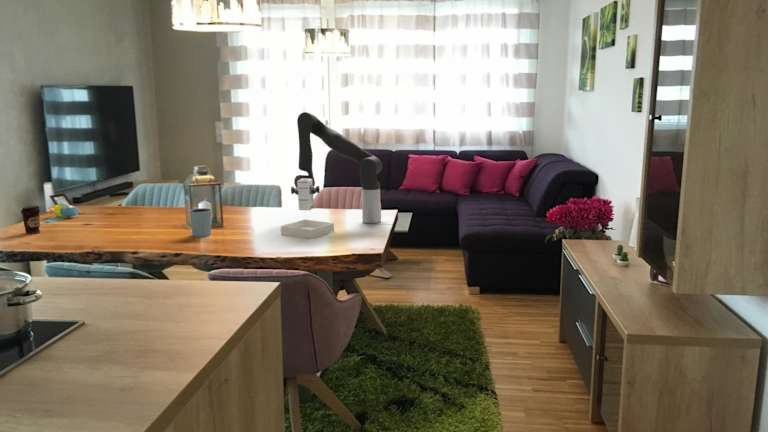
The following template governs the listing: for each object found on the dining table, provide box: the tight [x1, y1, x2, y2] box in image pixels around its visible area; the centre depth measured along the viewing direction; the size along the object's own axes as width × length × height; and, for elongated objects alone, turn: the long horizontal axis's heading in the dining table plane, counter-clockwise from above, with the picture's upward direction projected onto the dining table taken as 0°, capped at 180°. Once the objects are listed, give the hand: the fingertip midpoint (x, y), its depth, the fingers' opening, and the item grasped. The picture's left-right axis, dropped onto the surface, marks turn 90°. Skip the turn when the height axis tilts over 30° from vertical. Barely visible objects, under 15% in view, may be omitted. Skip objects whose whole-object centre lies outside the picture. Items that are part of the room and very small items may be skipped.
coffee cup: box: [20, 205, 41, 235], centre depth 314 cm, size 9×8×13 cm
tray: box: [280, 218, 335, 239], centre depth 309 cm, size 18×18×4 cm
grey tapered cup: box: [188, 207, 212, 238], centre depth 306 cm, size 10×10×12 cm
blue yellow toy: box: [40, 202, 82, 224], centre depth 352 cm, size 28×9×15 cm
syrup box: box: [297, 178, 315, 211], centre depth 306 cm, size 6×6×14 cm
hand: (305, 192), depth 304 cm, fingers closed on syrup box, 7 cm apart
